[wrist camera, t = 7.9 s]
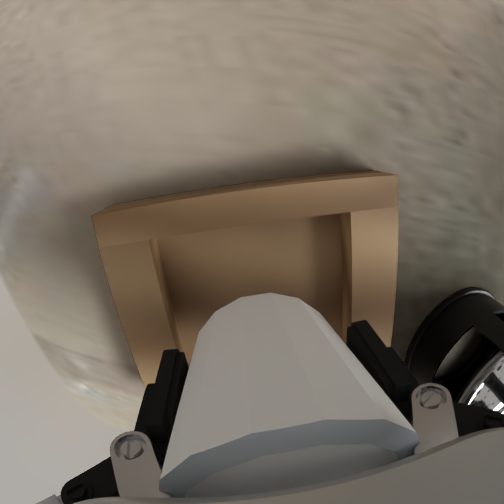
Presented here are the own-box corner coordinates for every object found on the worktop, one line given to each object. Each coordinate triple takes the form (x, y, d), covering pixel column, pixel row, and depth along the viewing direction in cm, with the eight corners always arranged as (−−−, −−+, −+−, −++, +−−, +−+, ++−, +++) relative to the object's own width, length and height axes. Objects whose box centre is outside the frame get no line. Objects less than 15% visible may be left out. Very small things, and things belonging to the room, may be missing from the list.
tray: (109, 206, 15) (91, 216, 13) (374, 170, 16) (397, 175, 13) (162, 387, 19) (156, 413, 17) (371, 356, 20) (385, 378, 17)
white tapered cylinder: (144, 350, 12) (101, 497, 5) (275, 238, 11) (346, 361, 4) (255, 431, 14) (273, 555, 7) (372, 350, 13) (450, 467, 6)
